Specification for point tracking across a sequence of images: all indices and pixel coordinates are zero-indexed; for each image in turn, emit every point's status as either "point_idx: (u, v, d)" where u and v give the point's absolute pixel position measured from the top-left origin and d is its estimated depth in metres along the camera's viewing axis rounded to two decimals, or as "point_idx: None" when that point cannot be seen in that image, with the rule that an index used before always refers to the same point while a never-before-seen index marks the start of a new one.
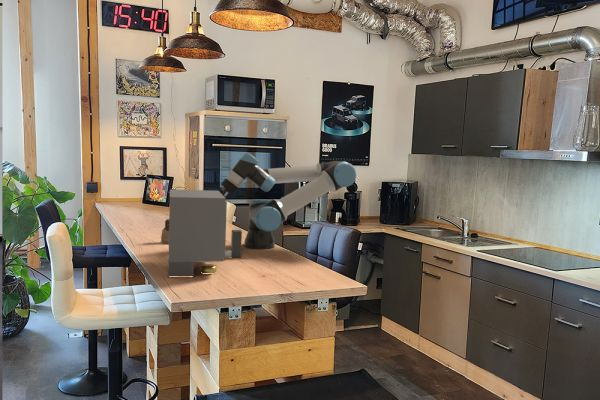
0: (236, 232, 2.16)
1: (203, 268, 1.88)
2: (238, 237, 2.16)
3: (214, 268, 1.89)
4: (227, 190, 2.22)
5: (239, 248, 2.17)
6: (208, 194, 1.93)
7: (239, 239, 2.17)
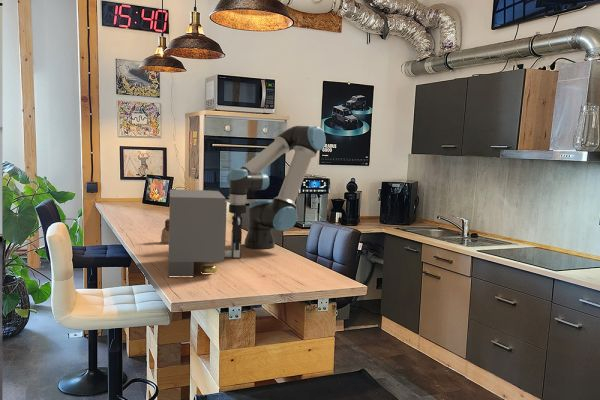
0: None
1: (203, 268, 1.88)
2: None
3: (214, 268, 1.89)
4: (238, 214, 2.13)
5: None
6: (208, 194, 1.93)
7: None
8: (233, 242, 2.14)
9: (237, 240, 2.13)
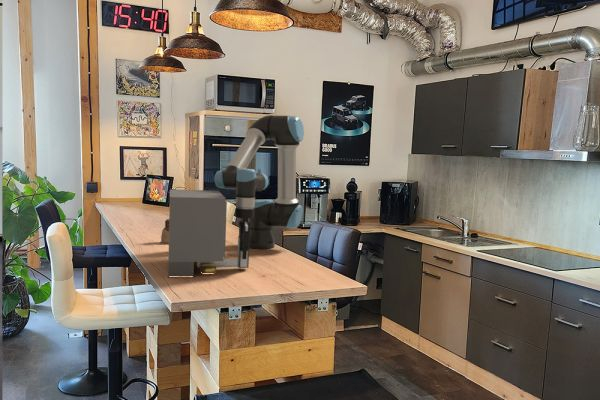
0: None
1: (203, 268, 1.88)
2: None
3: (214, 268, 1.89)
4: (245, 219, 1.93)
5: None
6: (208, 194, 1.93)
7: None
8: (240, 250, 1.93)
9: (244, 248, 1.92)
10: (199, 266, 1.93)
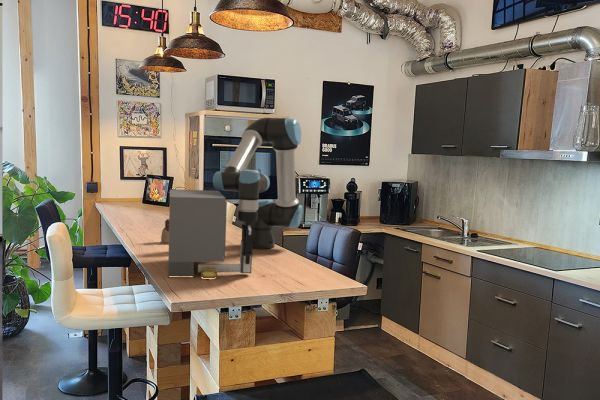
0: None
1: (203, 272, 1.81)
2: None
3: (215, 273, 1.82)
4: (249, 222, 1.84)
5: None
6: (208, 194, 1.93)
7: None
8: (243, 255, 1.85)
9: (248, 252, 1.84)
10: (200, 271, 1.86)
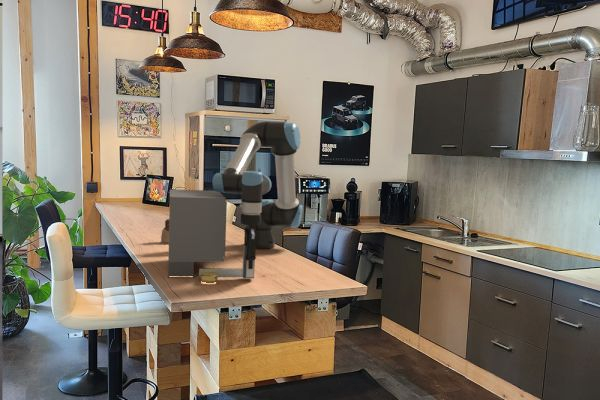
0: None
1: (202, 277, 1.75)
2: None
3: (214, 278, 1.75)
4: (252, 226, 1.78)
5: None
6: (208, 194, 1.93)
7: None
8: (246, 259, 1.79)
9: (251, 257, 1.77)
10: None
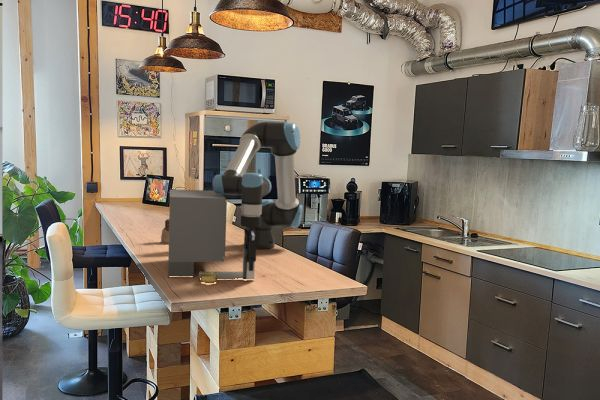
0: None
1: (202, 277, 1.75)
2: None
3: (214, 278, 1.75)
4: (252, 228, 1.78)
5: None
6: (208, 194, 1.93)
7: None
8: (246, 261, 1.78)
9: (251, 259, 1.76)
10: None
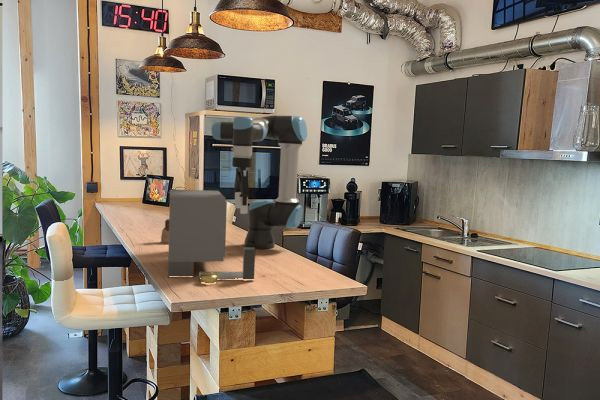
0: (248, 250, 1.81)
1: (202, 277, 1.75)
2: (251, 257, 1.81)
3: (214, 278, 1.75)
4: (243, 168, 1.88)
5: (252, 269, 1.82)
6: (208, 194, 1.93)
7: (252, 259, 1.81)
8: (240, 195, 1.85)
9: (245, 193, 1.83)
10: None
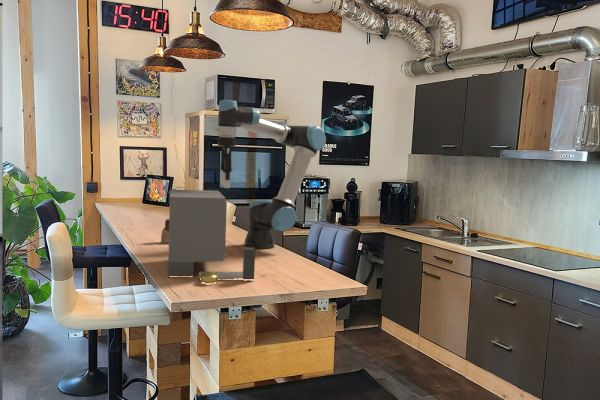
0: (248, 250, 1.81)
1: (203, 277, 1.75)
2: (251, 257, 1.81)
3: (215, 278, 1.76)
4: (227, 146, 2.07)
5: (252, 269, 1.82)
6: (208, 194, 1.93)
7: (252, 259, 1.81)
8: (223, 170, 2.03)
9: (227, 168, 2.02)
10: None
